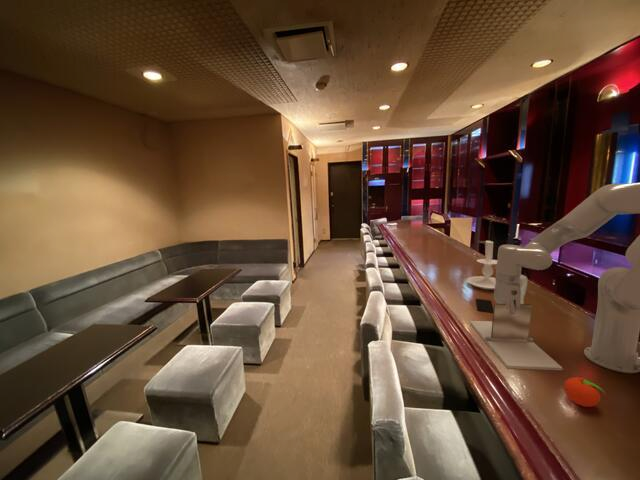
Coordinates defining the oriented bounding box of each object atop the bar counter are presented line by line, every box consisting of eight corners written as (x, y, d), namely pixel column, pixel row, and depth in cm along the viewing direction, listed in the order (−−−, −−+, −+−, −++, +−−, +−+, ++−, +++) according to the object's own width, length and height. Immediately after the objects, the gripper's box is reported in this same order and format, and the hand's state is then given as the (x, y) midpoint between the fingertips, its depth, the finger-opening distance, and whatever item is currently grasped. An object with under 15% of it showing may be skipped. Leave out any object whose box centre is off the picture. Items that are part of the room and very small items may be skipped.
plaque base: (562, 370, 83) (563, 364, 83) (507, 368, 86) (507, 362, 85) (509, 323, 112) (509, 318, 112) (469, 323, 115) (469, 318, 114)
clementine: (602, 403, 71) (606, 379, 69) (605, 420, 65) (610, 395, 64) (562, 389, 76) (565, 367, 75) (562, 404, 71) (565, 381, 70)
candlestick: (522, 295, 140) (527, 244, 134) (470, 292, 148) (473, 243, 143) (509, 282, 159) (512, 237, 154) (463, 280, 167) (465, 237, 162)
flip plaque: (525, 338, 98) (527, 339, 97) (491, 337, 100) (492, 339, 99) (529, 304, 95) (531, 305, 94) (494, 303, 97) (495, 305, 96)
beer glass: (528, 308, 125) (531, 278, 122) (511, 308, 126) (514, 278, 124) (520, 302, 132) (522, 274, 129) (504, 302, 133) (507, 273, 130)
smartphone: (491, 300, 135) (494, 312, 122) (491, 301, 135) (494, 314, 122) (475, 298, 138) (477, 310, 125) (475, 299, 138) (477, 311, 125)
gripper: (531, 285, 90) (525, 333, 93) (507, 271, 104) (503, 314, 108) (507, 284, 91) (503, 332, 95) (487, 271, 106) (483, 313, 109)
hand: (503, 322), depth 101 cm, fingers closed
